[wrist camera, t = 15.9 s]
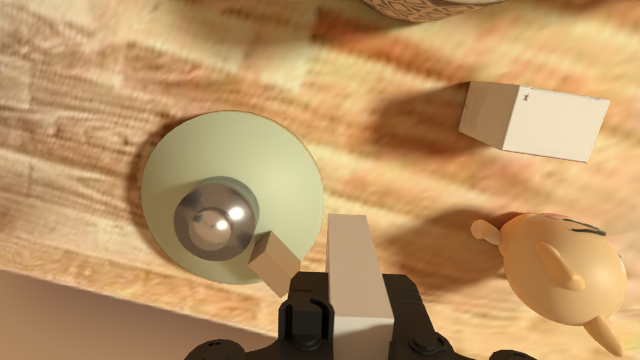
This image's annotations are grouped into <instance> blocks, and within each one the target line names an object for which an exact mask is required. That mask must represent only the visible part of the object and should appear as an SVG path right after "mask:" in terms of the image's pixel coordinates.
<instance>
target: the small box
mask: <svg viewBox="0 0 640 360" xmlns="http://www.w3.org/2000/svg"><path fill="white" fill-rule="evenodd" d="M609 103H610V100H609V99H606V98H597V97H590V96H583V95H576V94H570V93H563V92H557V91H551V90H544V89H538V88H533V87H528V86H523V85H514V84H503V83H493V82H481V81H471V82H470V87H469V90H468V94H467V98H466V102H465V106H464V110H463V114H462V118H461V121H460V125H459V129H458V131H459V132H462V133H464V134H466V135H468V136H470V137H473V138H475V139H477V140H479V141H482V142H484V143H486V144H488V145H491V146H493V147H495V148H497V149H499V150H501V151H508V152H515V153H522V154H528V155H535V156H542V157H549V158H556V159H563V160H570V161H576V162H583V163H587V162H588V159H589V156H590V154H591V151H592V149H593V146H594V143H595V140H596V138H597V135H598V132H599V130H600V127H601V124H602V121H603V119H604V116H605V113H606V111H607V108H608V105H609Z"/></svg>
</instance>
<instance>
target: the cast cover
mask: <svg viewBox="0 0 640 360" xmlns="http://www.w3.org/2000/svg"><path fill="white" fill-rule="evenodd" d="M259 216H260V209H259V204H258V201H257V198H256V197H255V195H254V193H253V192H252V191H251V189H250V188H249V187H248V186H246V185H245V184H244V183H242V182H241V181H239V180H237V179H234V178H231V177H227V176H215V177H210V178H207V179H205V180H203V181H201V182H200V183H199V184H197V185H196V186H195V187H194V188H193V189H192V190H191V191H190V192H189V193H188V194H187V195H186V196H185V197H184V198H183V199H182V200H181V201H180V202H179V204H178V206H177V208H176V210H175V213H174V219H173V223H174V230H175V233H176V236H177V238H178V240H179V241H180V243H181V244H182V245H183V247H184V248H185V249H186V250H187V251H189V252H190V253H191V254H193V255H195V256H197V257H199V258H201V259H204V260H208V261H225V260H229V259H232V258H234V257H236V256H238V255H239V254H241V253H242V252H243V251H244V250H245V249H246V248H247V246H248V245H249V243H250V241H251V239H252V236H253V234H254V232H255V229H256V227H257V224H258V221H259Z"/></svg>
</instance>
